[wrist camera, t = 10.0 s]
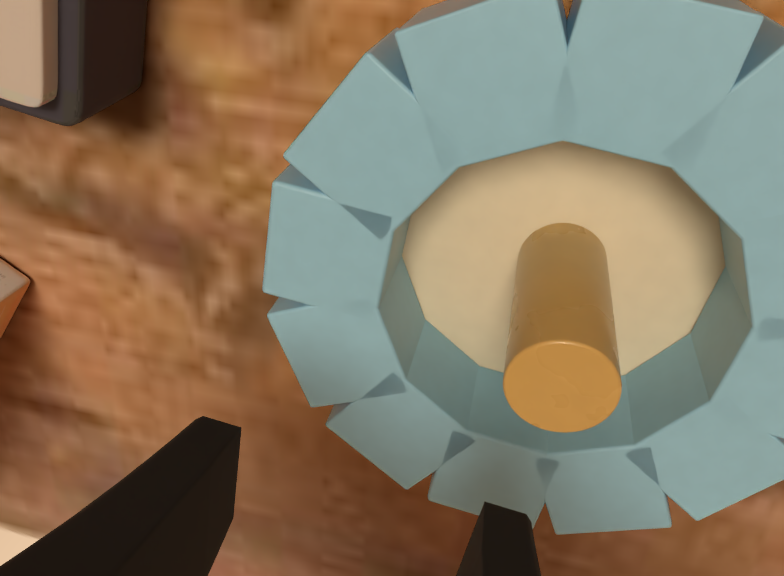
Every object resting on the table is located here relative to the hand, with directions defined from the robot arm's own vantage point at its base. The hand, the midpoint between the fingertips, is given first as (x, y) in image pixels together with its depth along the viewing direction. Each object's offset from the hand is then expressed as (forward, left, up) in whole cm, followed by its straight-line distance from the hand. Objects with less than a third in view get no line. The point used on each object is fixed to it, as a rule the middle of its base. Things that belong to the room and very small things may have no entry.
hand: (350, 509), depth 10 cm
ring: (-3, -1, -8) cm, 8 cm away
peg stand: (-3, -1, -9) cm, 9 cm away
